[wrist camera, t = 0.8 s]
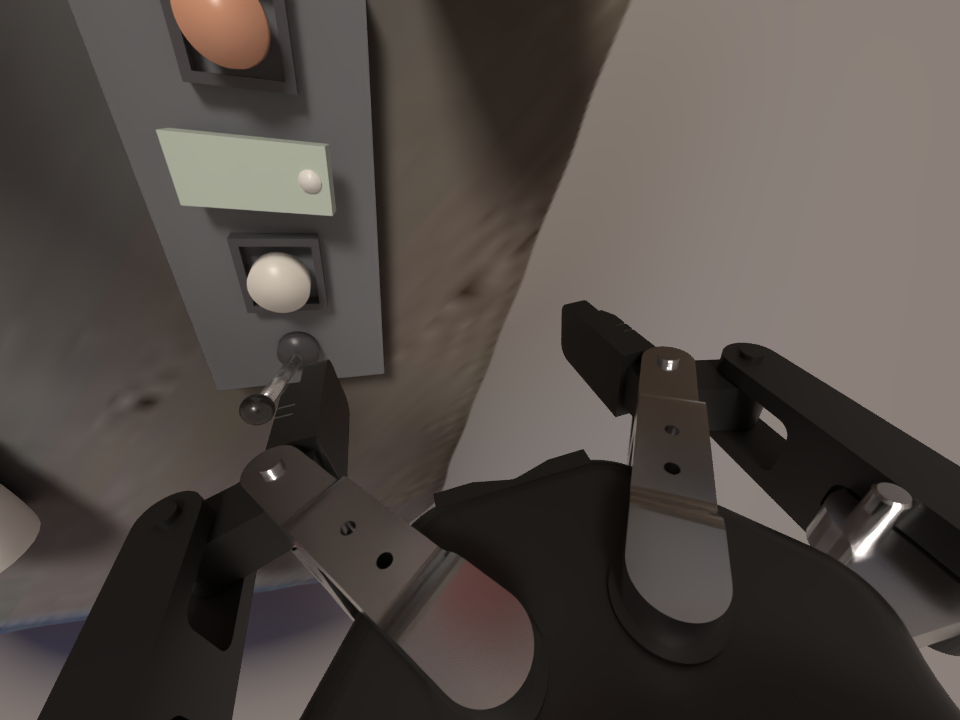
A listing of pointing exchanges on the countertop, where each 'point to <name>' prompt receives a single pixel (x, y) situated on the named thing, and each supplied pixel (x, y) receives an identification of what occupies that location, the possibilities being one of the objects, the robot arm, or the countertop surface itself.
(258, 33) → the terracotta button
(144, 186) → the switch panel
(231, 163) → the sage door
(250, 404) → the metal toggle lever
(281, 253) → the off-white button
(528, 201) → the countertop surface
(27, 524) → the rocket engine
